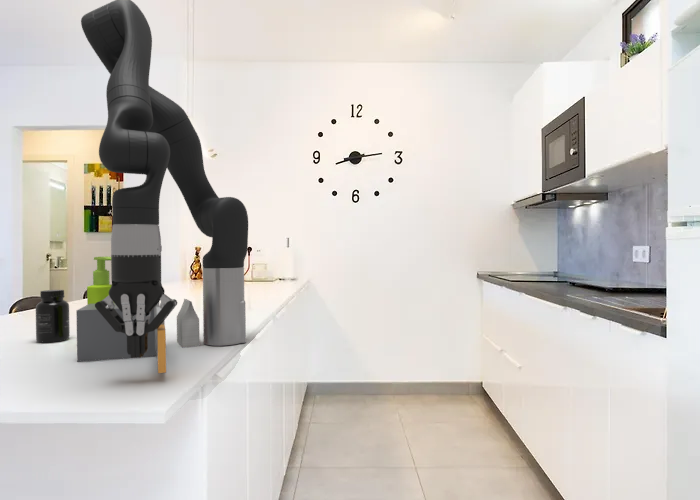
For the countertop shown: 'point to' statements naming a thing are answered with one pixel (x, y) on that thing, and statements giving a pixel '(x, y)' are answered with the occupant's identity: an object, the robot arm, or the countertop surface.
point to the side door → (161, 345)
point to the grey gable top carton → (187, 326)
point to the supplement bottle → (52, 317)
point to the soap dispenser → (99, 282)
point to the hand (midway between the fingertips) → (137, 356)
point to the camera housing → (105, 336)
